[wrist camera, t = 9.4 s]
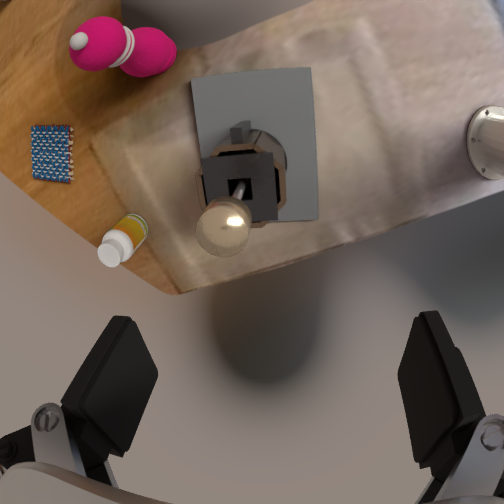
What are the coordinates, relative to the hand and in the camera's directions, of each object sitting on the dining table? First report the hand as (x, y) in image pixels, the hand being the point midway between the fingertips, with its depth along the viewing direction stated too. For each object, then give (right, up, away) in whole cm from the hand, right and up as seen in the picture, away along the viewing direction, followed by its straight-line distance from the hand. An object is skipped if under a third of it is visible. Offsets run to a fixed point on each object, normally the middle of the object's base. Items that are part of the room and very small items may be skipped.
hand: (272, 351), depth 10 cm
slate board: (0, +18, +32) cm, 36 cm away
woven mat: (-36, +21, +35) cm, 54 cm away
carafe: (-1, +15, +32) cm, 35 cm away
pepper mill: (-14, +31, +26) cm, 43 cm away
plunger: (-1, +14, +30) cm, 33 cm away
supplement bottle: (-21, +7, +40) cm, 46 cm away
